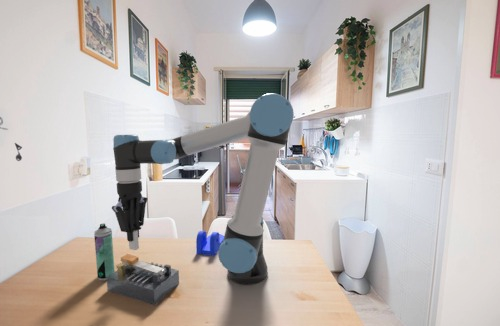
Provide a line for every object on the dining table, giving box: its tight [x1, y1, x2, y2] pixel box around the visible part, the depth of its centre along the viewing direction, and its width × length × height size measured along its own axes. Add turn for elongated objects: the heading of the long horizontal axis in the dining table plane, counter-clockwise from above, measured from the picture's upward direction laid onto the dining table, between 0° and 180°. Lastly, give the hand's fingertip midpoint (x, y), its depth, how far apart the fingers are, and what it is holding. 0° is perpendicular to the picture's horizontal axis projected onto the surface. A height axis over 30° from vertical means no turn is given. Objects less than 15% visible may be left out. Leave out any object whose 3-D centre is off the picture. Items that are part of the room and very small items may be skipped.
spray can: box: [93, 223, 116, 281], centre depth 90 cm, size 6×6×20 cm
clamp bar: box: [120, 253, 167, 277], centre depth 84 cm, size 17×3×3 cm, turn 69°
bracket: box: [195, 230, 224, 257], centre depth 116 cm, size 18×8×9 cm, turn 169°
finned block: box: [106, 261, 180, 306], centre depth 85 cm, size 20×12×9 cm, turn 69°
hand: (134, 248), depth 85 cm, fingers closed
